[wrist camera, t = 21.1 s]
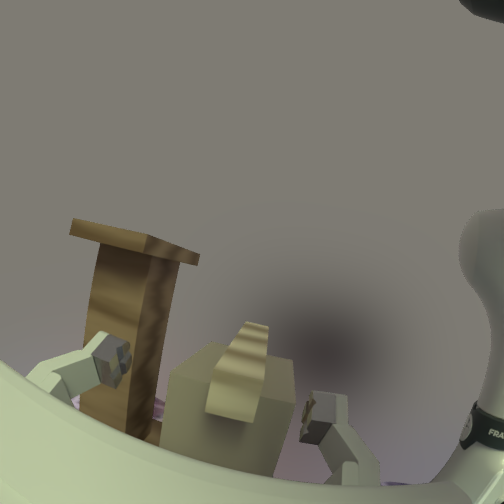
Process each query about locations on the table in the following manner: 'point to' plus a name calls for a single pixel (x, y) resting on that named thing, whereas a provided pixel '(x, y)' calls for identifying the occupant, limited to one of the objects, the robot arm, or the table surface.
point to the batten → (239, 375)
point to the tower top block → (222, 428)
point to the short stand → (130, 320)
